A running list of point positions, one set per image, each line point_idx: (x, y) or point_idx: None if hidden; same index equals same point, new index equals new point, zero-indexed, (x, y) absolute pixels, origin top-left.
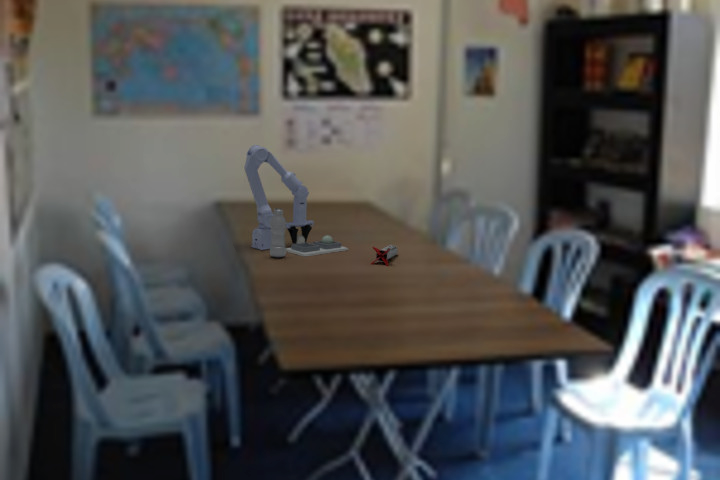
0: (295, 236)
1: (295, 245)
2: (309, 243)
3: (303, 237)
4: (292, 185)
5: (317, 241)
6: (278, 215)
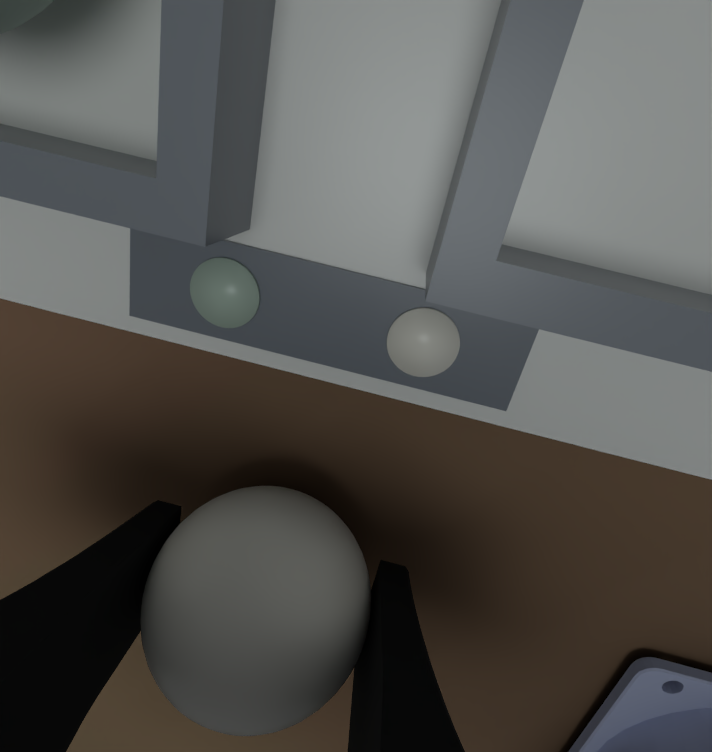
0: (429, 701)
1: None
2: (514, 141)
3: (198, 586)
4: None
5: (89, 174)
6: None
